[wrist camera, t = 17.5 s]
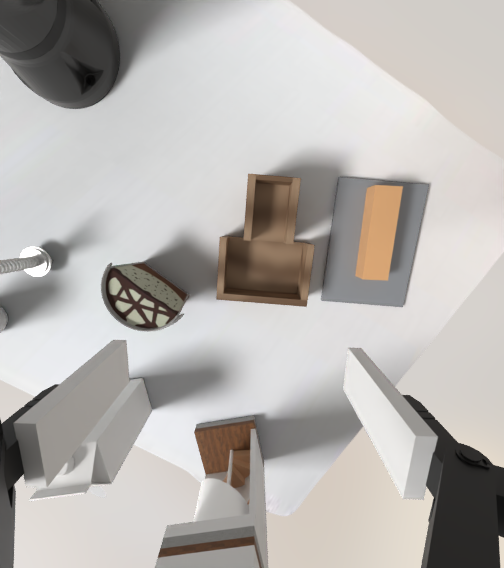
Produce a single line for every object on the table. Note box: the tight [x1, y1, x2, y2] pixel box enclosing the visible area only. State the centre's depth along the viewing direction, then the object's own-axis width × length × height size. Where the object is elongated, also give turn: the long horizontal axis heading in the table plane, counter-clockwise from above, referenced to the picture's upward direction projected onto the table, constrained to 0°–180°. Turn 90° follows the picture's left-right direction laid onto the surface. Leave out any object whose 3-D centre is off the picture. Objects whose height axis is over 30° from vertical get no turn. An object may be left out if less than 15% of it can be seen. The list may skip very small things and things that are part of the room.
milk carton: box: [29, 378, 152, 501], centre depth 41 cm, size 7×7×19 cm
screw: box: [0, 247, 53, 276], centre depth 38 cm, size 13×5×5 cm
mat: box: [321, 177, 429, 307], centre depth 43 cm, size 20×14×1 cm
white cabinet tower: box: [155, 415, 268, 568], centre depth 35 cm, size 11×11×35 cm
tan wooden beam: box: [355, 185, 403, 281], centre depth 41 cm, size 14×4×3 cm, turn 177°
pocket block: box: [217, 174, 315, 307], centre depth 40 cm, size 18×14×8 cm
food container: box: [101, 262, 189, 331], centre depth 41 cm, size 12×6×10 cm, turn 52°
